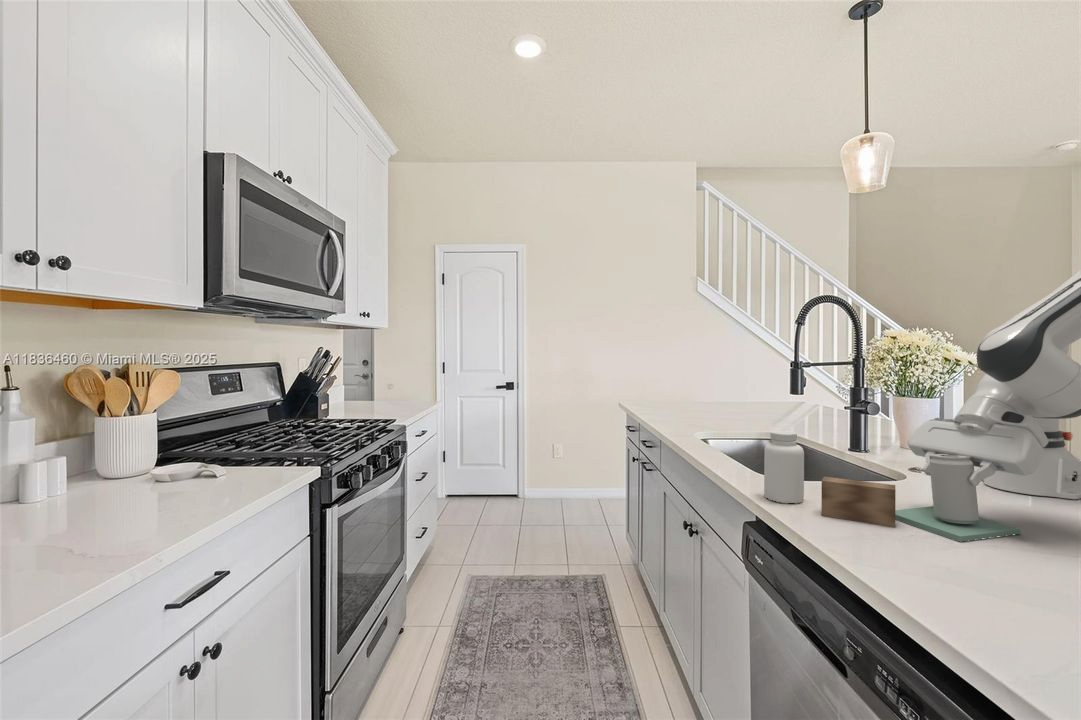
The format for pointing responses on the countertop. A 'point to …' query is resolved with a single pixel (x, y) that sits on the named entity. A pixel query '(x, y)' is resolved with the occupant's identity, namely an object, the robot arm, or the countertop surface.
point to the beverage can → (953, 489)
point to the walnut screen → (858, 501)
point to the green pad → (953, 525)
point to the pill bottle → (784, 468)
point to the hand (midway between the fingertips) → (948, 478)
